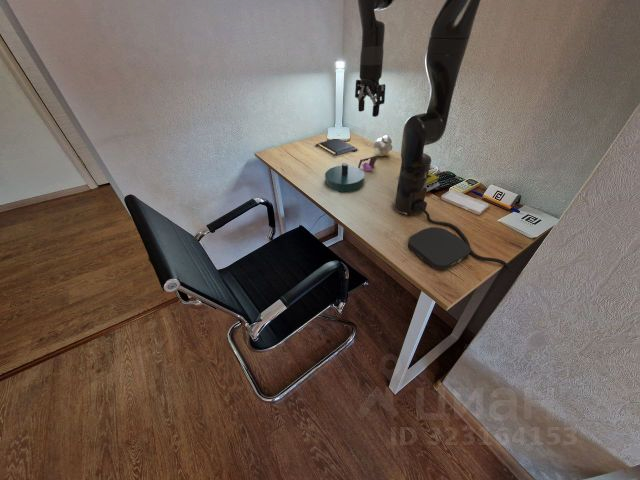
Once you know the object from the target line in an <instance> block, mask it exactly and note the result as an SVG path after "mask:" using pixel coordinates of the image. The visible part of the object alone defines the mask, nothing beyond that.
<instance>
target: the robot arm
mask: <svg viewBox="0 0 640 480" xmlns="http://www.w3.org/2000/svg"><path fill="white" fill-rule="evenodd" d="M394 2H396V0H357V7H358V14H359V18H360V25H361V48H360V54H359V57H360V58H359V79H356V80H355V88H354V89H355V90H354V98H355V99H357V101H358V104H357V105H358V107H357V109H358V112H360V113H361V112H364V111H365V104H366V101H365V99H366V97H369V99H370V101H372V104H373V105H372V115H371V116H372V118H373V117H374V118H376V117H378V116H379V114H380V106H381V105H384V104H385V101H386V83H382V84H380V79H381V78H382V74H383V64H384V43H385V33H386V32H385V30H386V25H385V23H384V21H381V20H377V18H376V13H375V12H378V11H384V10H387V9H389V8H390V7H391V6H392V5H393V4H394ZM480 3H481V0H445V2H444V3H443V5H442V7H441V8H440V10H439V11H438V14H437V15H436V16H435V19H434V21H433V24H432V26H431V29H430V33H429V37H428V43H427V47H426V51H425V59H424V62H425V64H424V65H425V70H426V75H427V79H428V83H429V90H430V92H429V98H428V99H429V100H428V104H427V108H426V111H425V112H423V113H418V114H415V115H411V116H410V117H409V118H408V119H407V120H406V121H405V123H404V126H403V130H402V137H401V146H400V147H401V148H400V158H401V162H400V169H399V175H398V180H397V181H398V182H397V186H396V193H395V197H394V199H393V201H394V204H393V209H394V210H395V211H396V212H397V213H399V214H401V215H406V216H408V217H411V216H414V215H416V214H419V213H421V212H422V213H424V214H425V216H426V219H427V221H428V222H429V223H431V224H434V225H440V226H446V227H450V228H452V229H453V230H454V231H456V233H457V234H458V235H459V236H460V238H461V239H462V240H463V241H464V242H465V243H466V244H467V245H468V246H469V248H470V253H469V254H470V255H471V256H472V257H473V258H476V259H478V260H481V261H486V262H494V263H499V264H501V265H503V267H504V268H506V270H508V271H510V270H512V268H511V266H510V265H509V264H508V263H507V262H506V261H504V260H503V259H501V258H495V257H488V256H481V255H479V254H477V253H475V252H474V251H473V250H472V247H471V245H470V242H469V240H468V238H467V236H466V235H465V234H464V233H463V232H462V230H461V229H460V228H459V227H457V226H456V225H454V224H453V223H451V222H447V221H446V222H444V221H437V220H433V219H432V218H431V217H430V216H431V215H430V214H429V212H428V211H427V210H426V209H427V206H428V202H427V201H426V200H425V199H426V195H427V192H426V191H427V189H426V188H425V185H426V181H427V177H428V173H430V168H431V164H432V157H431V156H430V155H428V154H427V153H425V152H424V151H425V146H428V145H431V144H434V143H437V142H438V141H440V140H441V139H442V138H443V135H444V134H445V132H446V129H447V125H448V121H449V115H450V110H451V105H452V104H451V103H452V101H453V95H454V92H455V87H456V85H457V80H458V77H459V73H460V70H461V66H462V63H463V60H464V57H465V54H466V50H467V47H468V44H469V41H470V37H471V35H472V29H473V26H474V22H475V19H476V16H477V13H478V10H479V7H480ZM469 346H470V345H469V344H468V343H466V344H465V345H464V347H463V350H465V351H466V350H467V349H468V348H469ZM467 347H468V348H467Z"/></svg>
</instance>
